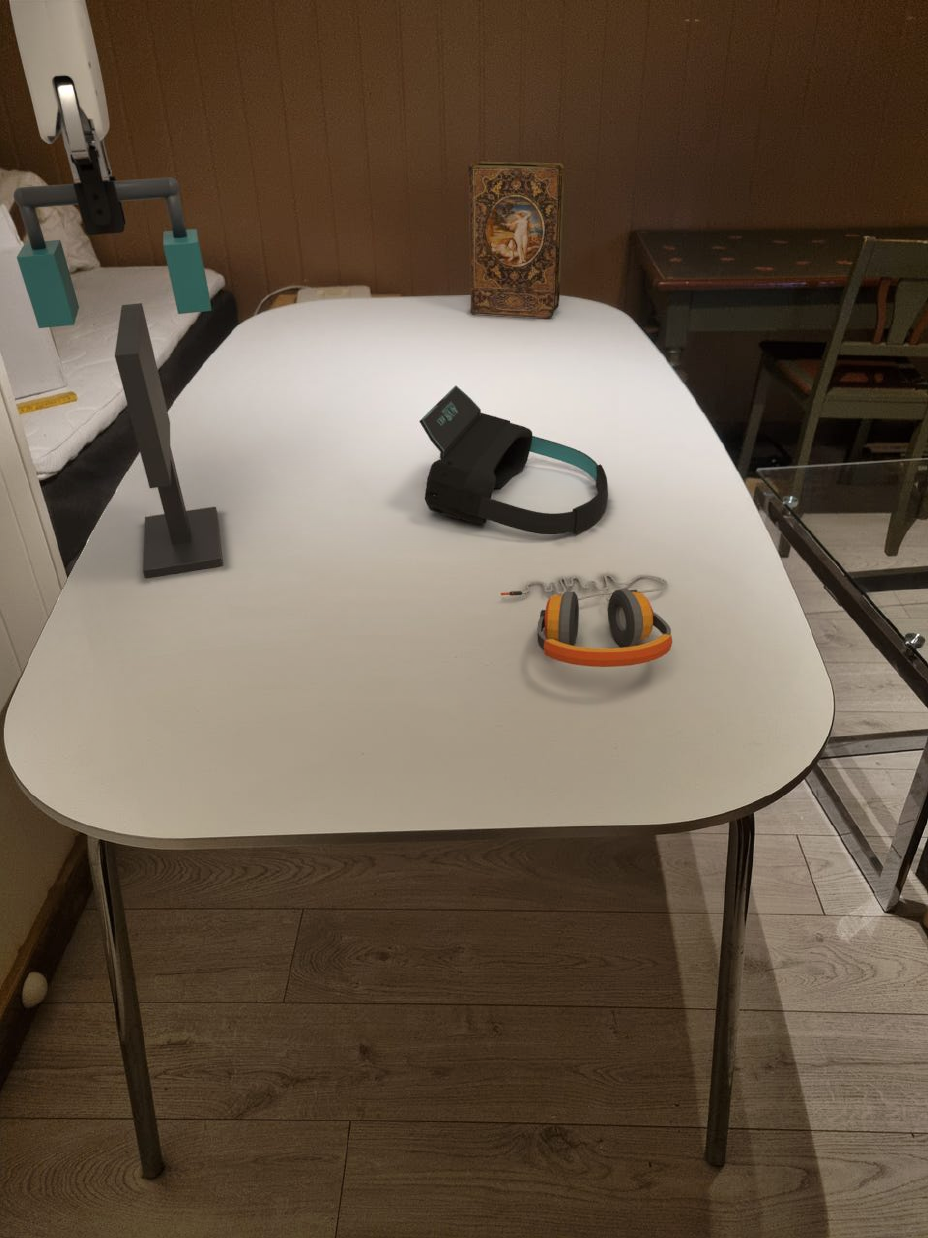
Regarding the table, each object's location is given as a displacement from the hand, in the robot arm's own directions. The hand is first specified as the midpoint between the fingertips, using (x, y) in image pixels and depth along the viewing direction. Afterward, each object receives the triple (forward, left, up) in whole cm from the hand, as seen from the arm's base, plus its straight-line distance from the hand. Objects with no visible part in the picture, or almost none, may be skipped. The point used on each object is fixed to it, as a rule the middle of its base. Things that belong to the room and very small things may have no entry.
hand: (106, 228), depth 75 cm
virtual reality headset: (+39, -1, -33) cm, 51 cm away
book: (+62, +70, -33) cm, 99 cm away
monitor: (0, +1, -33) cm, 33 cm away
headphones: (+37, -28, -33) cm, 57 cm away
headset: (0, 0, -7) cm, 7 cm away
